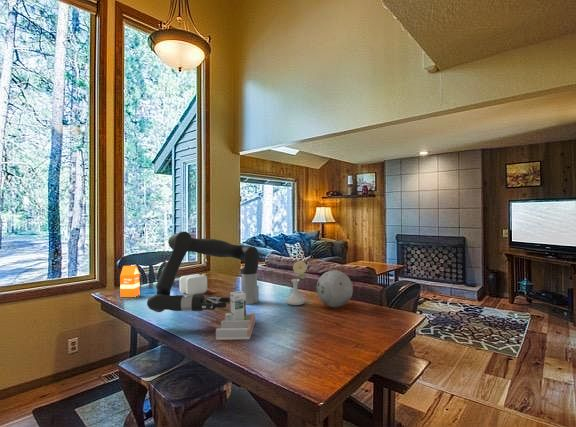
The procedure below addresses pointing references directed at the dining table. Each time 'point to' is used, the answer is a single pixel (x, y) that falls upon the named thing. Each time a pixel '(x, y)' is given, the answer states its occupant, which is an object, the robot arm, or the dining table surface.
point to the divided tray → (235, 328)
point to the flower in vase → (296, 297)
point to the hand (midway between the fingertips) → (227, 302)
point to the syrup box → (238, 305)
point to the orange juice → (129, 282)
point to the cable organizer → (193, 284)
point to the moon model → (334, 288)
